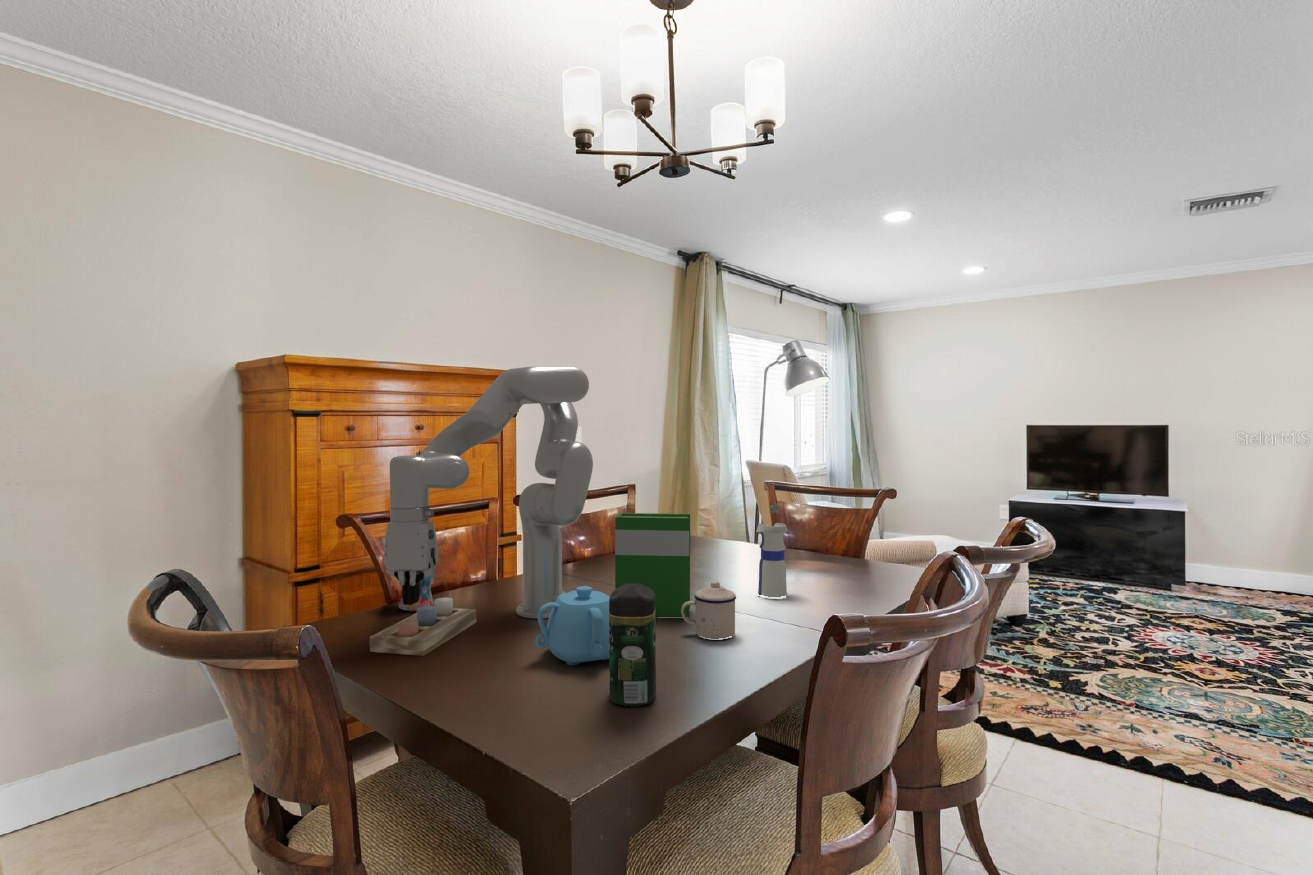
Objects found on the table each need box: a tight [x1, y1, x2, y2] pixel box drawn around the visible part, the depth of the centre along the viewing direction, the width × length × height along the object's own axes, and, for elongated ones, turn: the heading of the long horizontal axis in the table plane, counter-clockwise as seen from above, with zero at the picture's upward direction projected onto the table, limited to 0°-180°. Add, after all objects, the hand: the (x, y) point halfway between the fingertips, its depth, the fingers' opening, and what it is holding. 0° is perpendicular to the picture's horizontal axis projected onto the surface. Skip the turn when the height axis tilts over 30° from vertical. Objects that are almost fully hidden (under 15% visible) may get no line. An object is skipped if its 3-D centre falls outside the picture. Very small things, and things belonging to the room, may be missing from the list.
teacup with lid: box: [681, 580, 737, 639], centre depth 138 cm, size 12×9×12 cm
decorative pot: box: [534, 585, 610, 666], centre depth 126 cm, size 16×16×14 cm
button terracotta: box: [397, 620, 418, 637], centre depth 130 cm, size 4×4×4 cm
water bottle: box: [755, 501, 789, 597], centre depth 170 cm, size 8×9×25 cm
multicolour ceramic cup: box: [398, 566, 437, 612], centre depth 160 cm, size 12×9×11 cm
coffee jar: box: [608, 584, 657, 708], centre depth 107 cm, size 10×8×19 cm
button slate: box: [416, 605, 437, 626], centre depth 137 cm, size 4×4×4 cm
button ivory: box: [433, 596, 454, 617], centre depth 144 cm, size 4×4×4 cm
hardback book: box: [614, 512, 691, 618], centre depth 154 cm, size 18×7×24 cm, turn 85°
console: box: [369, 607, 477, 657], centre depth 137 cm, size 12×22×3 cm, turn 169°
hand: (411, 603), depth 131 cm, fingers closed
